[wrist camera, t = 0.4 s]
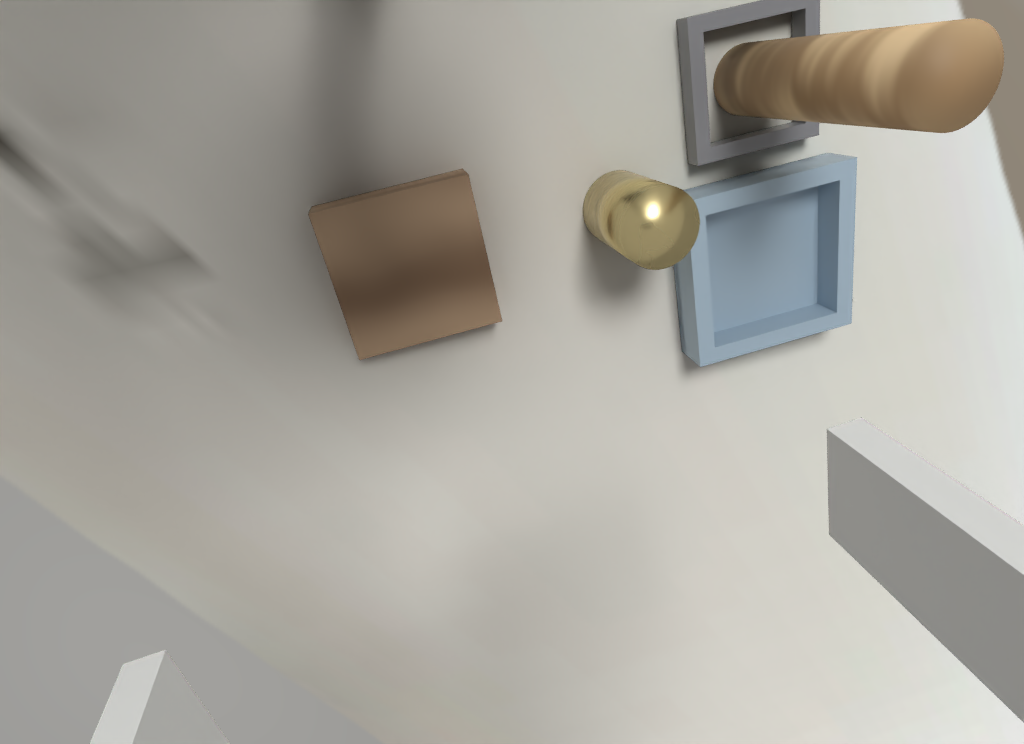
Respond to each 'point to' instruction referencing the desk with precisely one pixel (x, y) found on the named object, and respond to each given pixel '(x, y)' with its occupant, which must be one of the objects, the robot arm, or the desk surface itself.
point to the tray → (769, 258)
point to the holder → (694, 84)
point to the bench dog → (642, 218)
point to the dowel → (868, 76)
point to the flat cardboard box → (408, 263)
